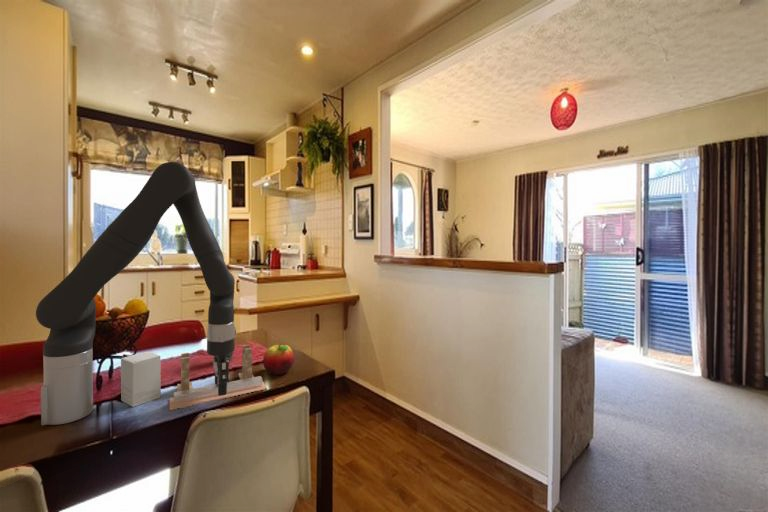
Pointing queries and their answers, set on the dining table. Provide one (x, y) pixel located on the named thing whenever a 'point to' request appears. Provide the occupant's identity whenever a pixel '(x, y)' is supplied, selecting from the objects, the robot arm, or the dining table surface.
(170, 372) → the dining table surface
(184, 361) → the left stand
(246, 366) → the right stand
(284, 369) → the fruit
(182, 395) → the pale grey long bar
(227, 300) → the robot arm
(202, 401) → the terracotta board
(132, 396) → the supplement box
